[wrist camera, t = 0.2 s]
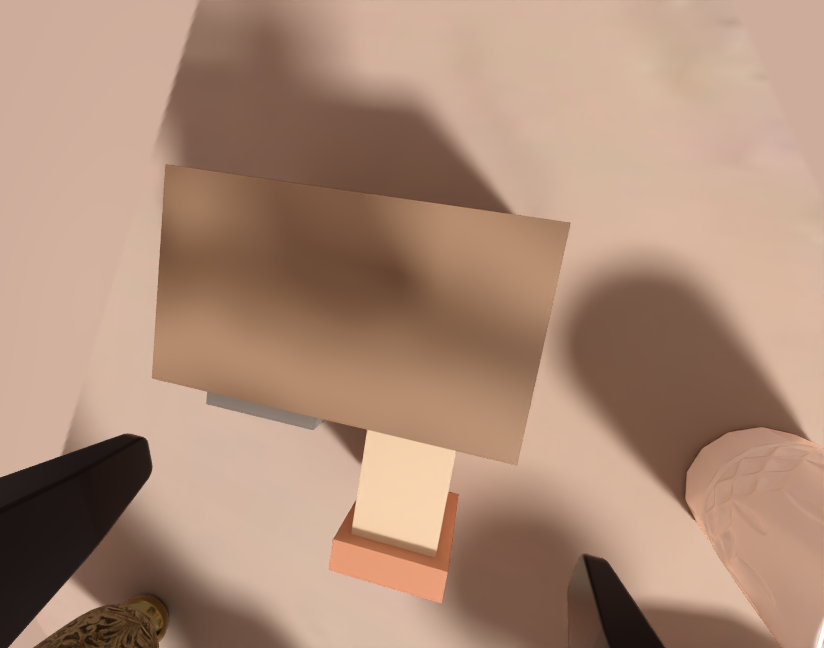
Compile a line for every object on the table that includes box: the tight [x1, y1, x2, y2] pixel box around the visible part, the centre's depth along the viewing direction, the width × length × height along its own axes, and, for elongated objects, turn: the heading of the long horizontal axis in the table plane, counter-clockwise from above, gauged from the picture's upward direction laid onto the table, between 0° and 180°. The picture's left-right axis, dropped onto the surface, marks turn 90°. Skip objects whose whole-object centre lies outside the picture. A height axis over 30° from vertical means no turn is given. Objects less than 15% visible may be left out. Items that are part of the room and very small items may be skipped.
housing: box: [152, 164, 570, 465], centre depth 19 cm, size 10×14×10 cm
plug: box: [329, 430, 459, 604], centre depth 20 cm, size 10×5×6 cm, turn 170°
